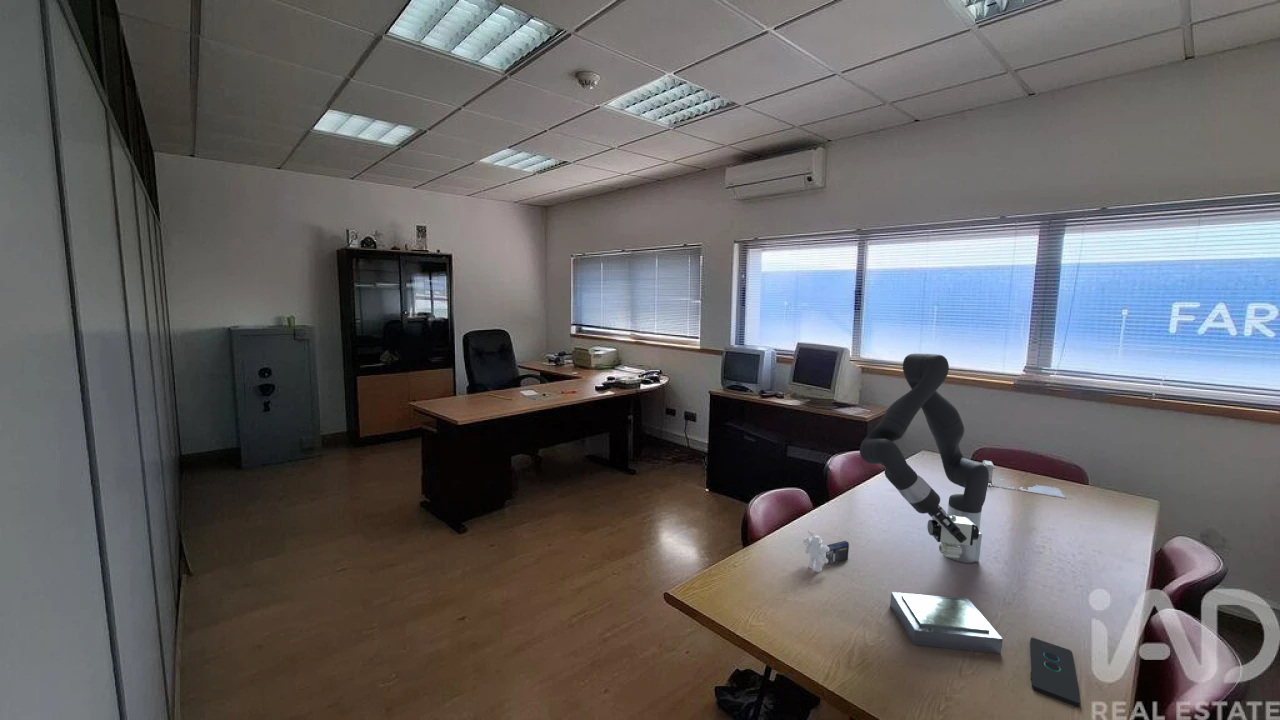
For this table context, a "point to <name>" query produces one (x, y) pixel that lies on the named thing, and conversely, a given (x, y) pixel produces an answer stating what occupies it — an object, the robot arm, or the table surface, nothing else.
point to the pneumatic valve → (949, 540)
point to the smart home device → (1054, 672)
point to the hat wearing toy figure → (816, 551)
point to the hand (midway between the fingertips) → (958, 535)
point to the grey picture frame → (945, 623)
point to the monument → (1034, 489)
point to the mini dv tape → (837, 552)
